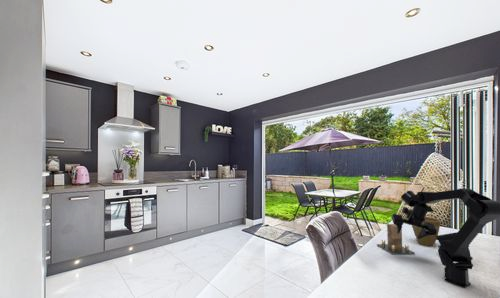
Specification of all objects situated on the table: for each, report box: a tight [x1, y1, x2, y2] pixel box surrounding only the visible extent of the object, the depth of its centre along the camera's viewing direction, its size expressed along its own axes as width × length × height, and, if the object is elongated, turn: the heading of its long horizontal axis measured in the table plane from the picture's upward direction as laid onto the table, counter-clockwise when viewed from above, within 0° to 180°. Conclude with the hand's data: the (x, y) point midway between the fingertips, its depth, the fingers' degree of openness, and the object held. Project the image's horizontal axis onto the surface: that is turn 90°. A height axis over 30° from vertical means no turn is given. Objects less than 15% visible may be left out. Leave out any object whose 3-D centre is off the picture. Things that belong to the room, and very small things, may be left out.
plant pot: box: [411, 216, 441, 247], centre depth 136 cm, size 15×15×16 cm
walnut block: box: [386, 223, 403, 250], centre depth 125 cm, size 5×5×13 cm
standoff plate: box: [376, 239, 416, 256], centre depth 125 cm, size 13×13×4 cm
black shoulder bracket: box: [436, 231, 473, 264], centre depth 112 cm, size 4×13×15 cm, turn 27°
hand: (407, 235), depth 116 cm, fingers open, 9 cm apart
